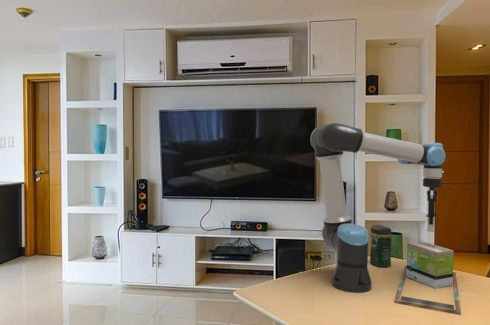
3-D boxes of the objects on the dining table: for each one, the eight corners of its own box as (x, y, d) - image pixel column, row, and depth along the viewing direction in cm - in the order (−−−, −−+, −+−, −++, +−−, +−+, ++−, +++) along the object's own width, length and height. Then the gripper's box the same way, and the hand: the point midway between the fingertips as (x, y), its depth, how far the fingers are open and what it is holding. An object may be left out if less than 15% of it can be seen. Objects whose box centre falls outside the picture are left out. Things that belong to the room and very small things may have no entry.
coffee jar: (393, 267, 177) (394, 227, 176) (378, 268, 175) (379, 227, 174) (381, 261, 186) (382, 223, 186) (367, 262, 184) (368, 223, 184)
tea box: (405, 277, 162) (406, 242, 162) (422, 274, 166) (423, 241, 166) (435, 289, 149) (436, 251, 148) (453, 286, 153) (454, 249, 152)
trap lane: (393, 302, 134) (394, 299, 134) (404, 267, 177) (405, 264, 177) (460, 314, 125) (461, 311, 125) (455, 274, 167) (455, 271, 167)
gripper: (442, 179, 160) (440, 235, 161) (441, 177, 174) (440, 228, 175) (422, 178, 163) (420, 233, 164) (423, 176, 178) (422, 227, 178)
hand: (430, 230), depth 170 cm, fingers open, 3 cm apart
